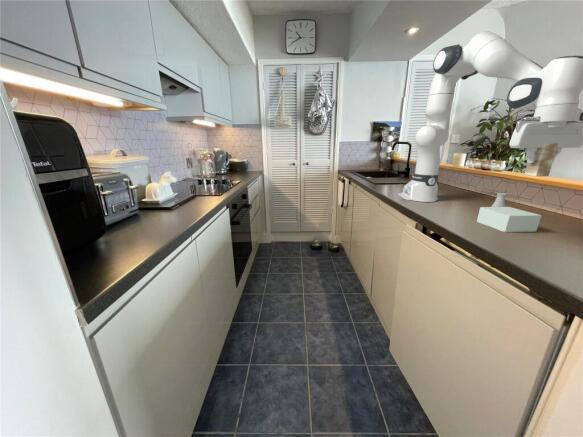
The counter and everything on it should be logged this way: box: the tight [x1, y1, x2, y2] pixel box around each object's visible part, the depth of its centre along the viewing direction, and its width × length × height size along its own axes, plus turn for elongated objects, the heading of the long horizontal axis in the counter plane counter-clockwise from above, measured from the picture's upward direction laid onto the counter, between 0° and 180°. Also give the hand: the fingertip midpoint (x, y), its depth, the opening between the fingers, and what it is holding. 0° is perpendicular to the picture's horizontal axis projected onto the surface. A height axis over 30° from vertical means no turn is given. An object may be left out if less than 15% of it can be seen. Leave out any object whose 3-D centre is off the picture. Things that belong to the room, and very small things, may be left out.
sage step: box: [476, 206, 542, 233], centre depth 88 cm, size 12×12×6 cm
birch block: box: [523, 144, 558, 177], centre depth 76 cm, size 4×4×10 cm
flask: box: [490, 192, 508, 207], centre depth 100 cm, size 7×7×10 cm
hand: (539, 162), depth 76 cm, fingers closed on birch block, 4 cm apart
